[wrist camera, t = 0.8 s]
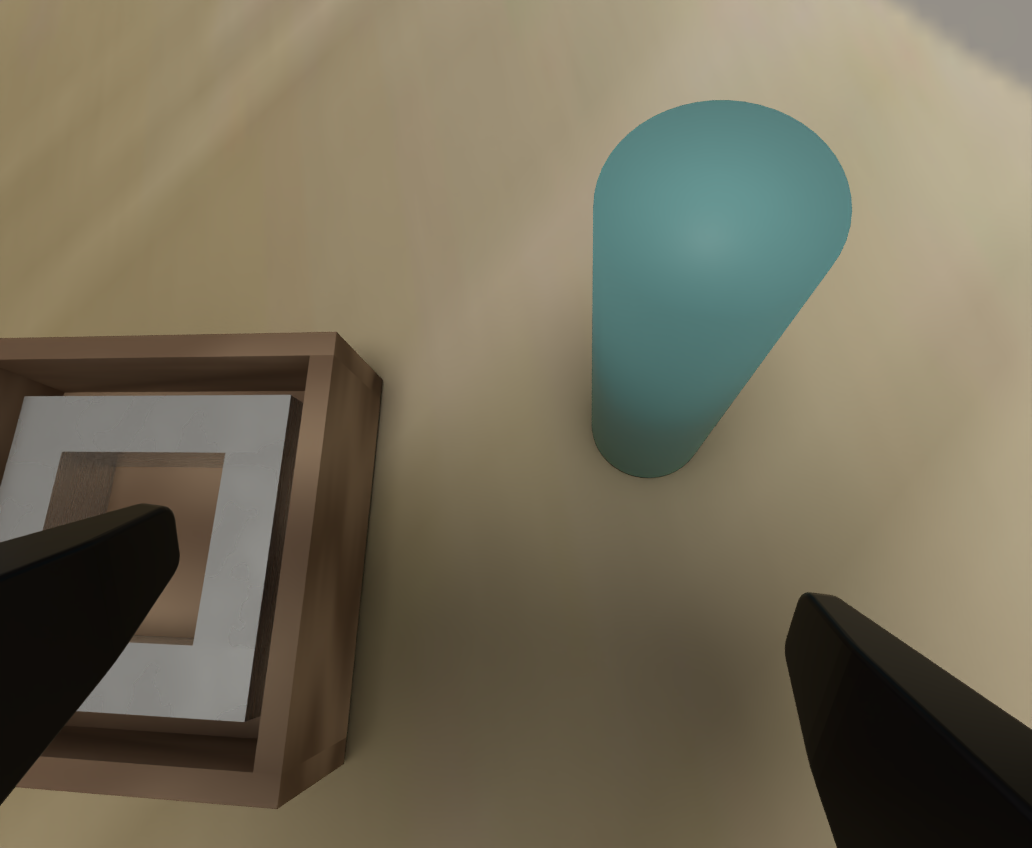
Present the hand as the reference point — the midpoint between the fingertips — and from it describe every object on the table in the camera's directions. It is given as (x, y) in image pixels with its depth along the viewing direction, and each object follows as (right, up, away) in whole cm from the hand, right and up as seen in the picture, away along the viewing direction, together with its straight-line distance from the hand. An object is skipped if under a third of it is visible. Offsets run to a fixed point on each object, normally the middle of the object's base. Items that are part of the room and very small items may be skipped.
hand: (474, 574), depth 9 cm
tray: (-12, -3, +14) cm, 19 cm away
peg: (+5, +2, +14) cm, 15 cm away
